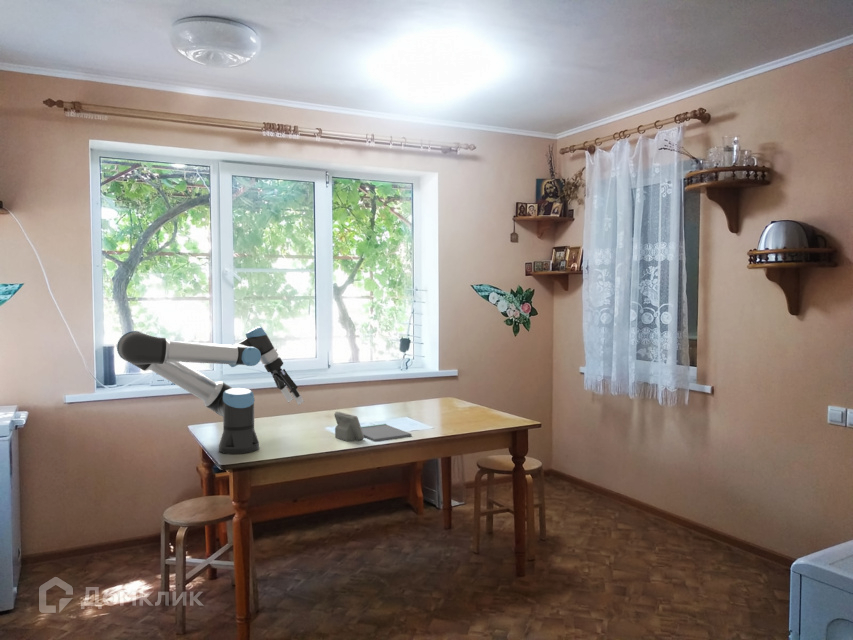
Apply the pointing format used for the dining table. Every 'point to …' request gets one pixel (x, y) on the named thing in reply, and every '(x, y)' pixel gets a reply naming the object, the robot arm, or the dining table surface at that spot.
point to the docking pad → (383, 432)
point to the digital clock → (347, 427)
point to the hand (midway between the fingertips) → (295, 402)
